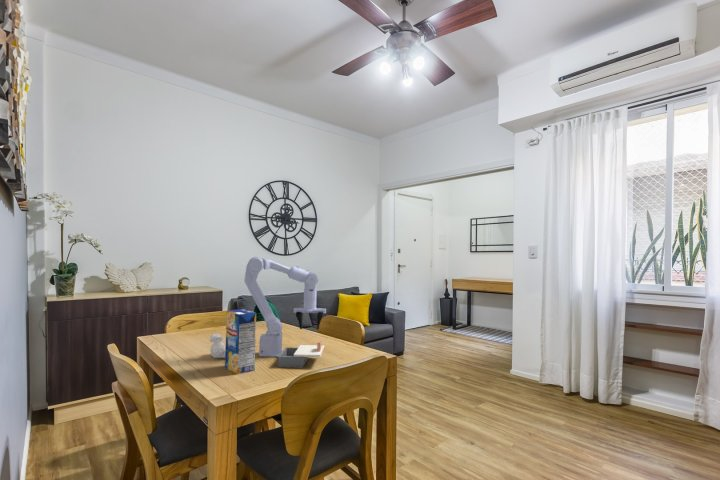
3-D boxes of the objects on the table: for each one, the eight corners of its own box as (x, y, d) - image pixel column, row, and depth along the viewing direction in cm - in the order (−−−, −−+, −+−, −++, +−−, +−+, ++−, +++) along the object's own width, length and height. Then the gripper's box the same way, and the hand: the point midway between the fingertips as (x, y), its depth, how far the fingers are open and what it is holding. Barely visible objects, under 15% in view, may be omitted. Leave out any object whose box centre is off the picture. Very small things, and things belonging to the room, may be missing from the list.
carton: (277, 367, 142) (277, 356, 142) (285, 356, 156) (285, 347, 156) (302, 367, 142) (303, 357, 142) (308, 357, 156) (308, 347, 156)
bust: (213, 359, 158) (197, 341, 153) (227, 346, 162) (211, 328, 157) (223, 366, 149) (206, 347, 144) (237, 352, 153) (222, 333, 148)
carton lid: (293, 356, 142) (293, 345, 142) (300, 346, 156) (300, 336, 156) (319, 357, 141) (320, 346, 142) (324, 347, 156) (324, 337, 156)
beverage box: (237, 374, 133) (239, 314, 133) (224, 367, 141) (226, 310, 141) (254, 370, 137) (256, 312, 138) (241, 363, 145) (242, 308, 146)
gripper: (292, 299, 160) (291, 330, 160) (325, 300, 160) (324, 331, 160) (295, 297, 168) (295, 327, 167) (326, 298, 167) (326, 327, 167)
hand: (309, 328), depth 164 cm, fingers open, 7 cm apart
